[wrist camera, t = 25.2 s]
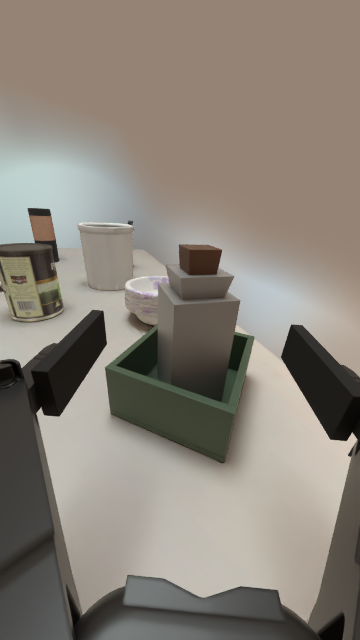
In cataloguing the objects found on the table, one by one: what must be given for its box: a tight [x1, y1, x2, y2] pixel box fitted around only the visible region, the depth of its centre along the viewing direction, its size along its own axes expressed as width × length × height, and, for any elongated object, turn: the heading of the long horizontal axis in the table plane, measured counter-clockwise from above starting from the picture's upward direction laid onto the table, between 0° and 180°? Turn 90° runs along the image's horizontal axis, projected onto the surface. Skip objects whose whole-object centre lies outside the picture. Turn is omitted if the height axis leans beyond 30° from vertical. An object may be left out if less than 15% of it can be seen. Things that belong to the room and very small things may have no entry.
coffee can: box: [0, 243, 64, 322], centre depth 46 cm, size 10×10×14 cm
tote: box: [105, 324, 254, 463], centre depth 28 cm, size 15×14×7 cm
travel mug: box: [28, 208, 59, 262], centre depth 90 cm, size 8×8×20 cm
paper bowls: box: [125, 276, 169, 326], centre depth 49 cm, size 15×15×8 cm
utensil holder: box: [78, 223, 133, 290], centre depth 67 cm, size 15×15×18 cm
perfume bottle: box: [157, 245, 240, 402], centre depth 26 cm, size 7×7×18 cm
